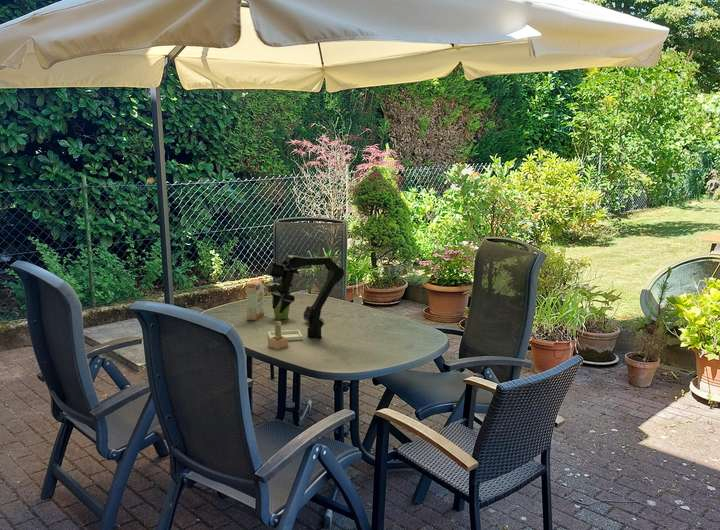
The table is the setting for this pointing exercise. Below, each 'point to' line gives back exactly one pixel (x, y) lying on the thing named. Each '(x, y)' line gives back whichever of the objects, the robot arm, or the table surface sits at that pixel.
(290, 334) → the tray
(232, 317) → the table surface
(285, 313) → the plant pot
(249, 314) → the cracker box
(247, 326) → the table surface
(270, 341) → the pin cup
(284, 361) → the table surface
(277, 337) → the dowel pin
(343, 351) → the table surface
